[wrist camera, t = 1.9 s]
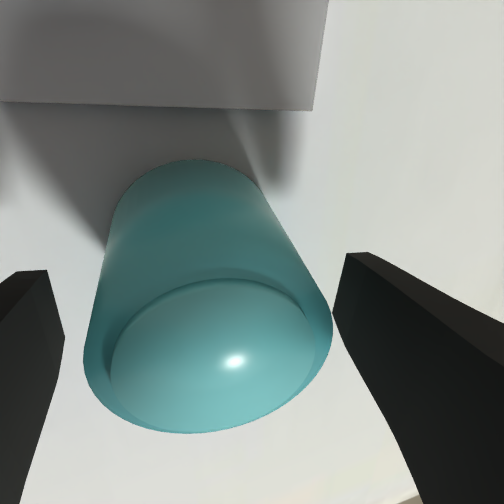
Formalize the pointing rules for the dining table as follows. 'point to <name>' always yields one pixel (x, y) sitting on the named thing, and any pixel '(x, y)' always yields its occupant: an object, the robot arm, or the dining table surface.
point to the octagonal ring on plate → (162, 52)
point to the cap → (201, 305)
